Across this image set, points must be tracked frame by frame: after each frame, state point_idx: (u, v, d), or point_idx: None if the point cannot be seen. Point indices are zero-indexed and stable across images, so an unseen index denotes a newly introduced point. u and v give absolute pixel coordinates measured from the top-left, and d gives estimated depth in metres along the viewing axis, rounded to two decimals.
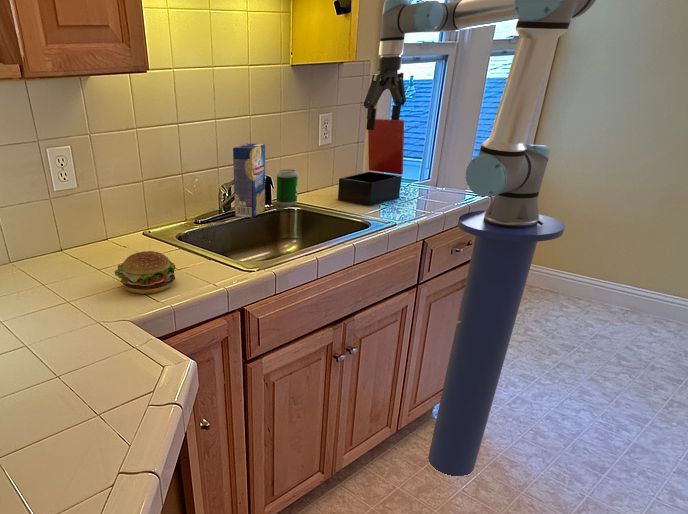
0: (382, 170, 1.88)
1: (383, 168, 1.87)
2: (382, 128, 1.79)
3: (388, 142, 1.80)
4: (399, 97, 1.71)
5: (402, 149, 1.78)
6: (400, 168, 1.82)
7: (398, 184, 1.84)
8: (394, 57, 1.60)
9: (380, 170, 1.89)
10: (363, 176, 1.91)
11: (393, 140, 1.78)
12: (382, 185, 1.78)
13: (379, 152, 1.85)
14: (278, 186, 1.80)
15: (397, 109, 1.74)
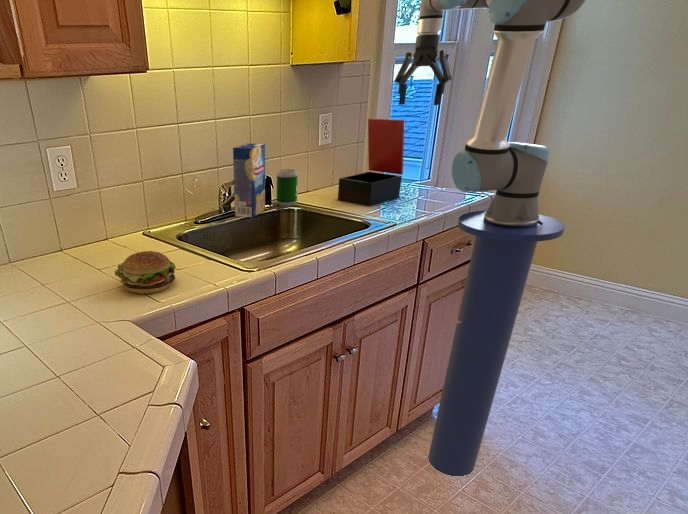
0: (382, 170, 1.88)
1: (383, 168, 1.87)
2: (382, 128, 1.79)
3: (388, 142, 1.80)
4: (437, 75, 1.70)
5: (402, 149, 1.78)
6: (400, 168, 1.82)
7: (398, 184, 1.84)
8: (418, 36, 1.69)
9: (380, 170, 1.89)
10: (363, 176, 1.91)
11: (393, 140, 1.78)
12: (382, 185, 1.78)
13: (379, 152, 1.85)
14: (278, 186, 1.80)
15: None
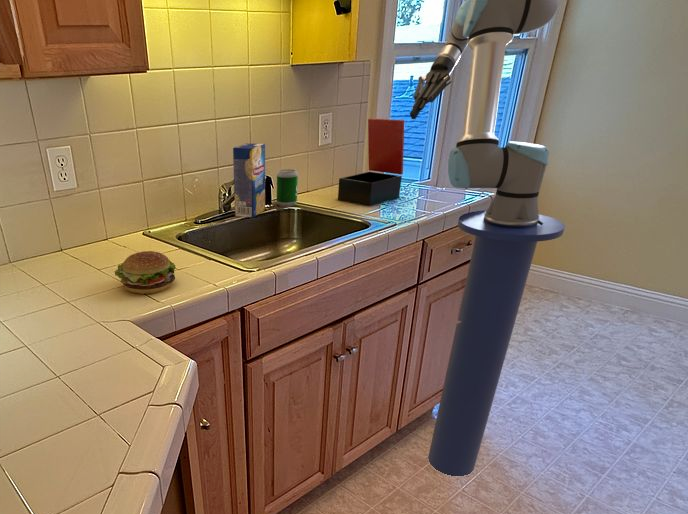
0: (382, 170, 1.88)
1: (383, 168, 1.87)
2: (382, 128, 1.79)
3: (388, 142, 1.80)
4: (427, 92, 1.84)
5: (402, 149, 1.78)
6: (400, 168, 1.82)
7: (398, 184, 1.84)
8: None
9: (380, 170, 1.89)
10: (363, 176, 1.91)
11: (393, 140, 1.78)
12: (382, 185, 1.78)
13: (379, 152, 1.85)
14: (278, 186, 1.80)
15: None
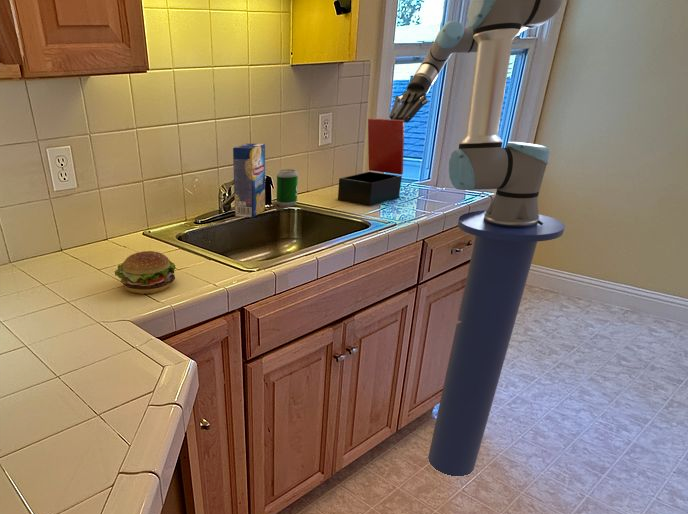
0: (382, 170, 1.88)
1: (383, 168, 1.87)
2: (382, 128, 1.79)
3: (388, 142, 1.80)
4: (403, 112, 1.80)
5: (402, 149, 1.78)
6: (400, 168, 1.82)
7: (398, 184, 1.84)
8: None
9: (380, 170, 1.89)
10: (363, 176, 1.91)
11: (393, 140, 1.78)
12: (382, 185, 1.78)
13: (379, 152, 1.85)
14: (278, 186, 1.80)
15: None
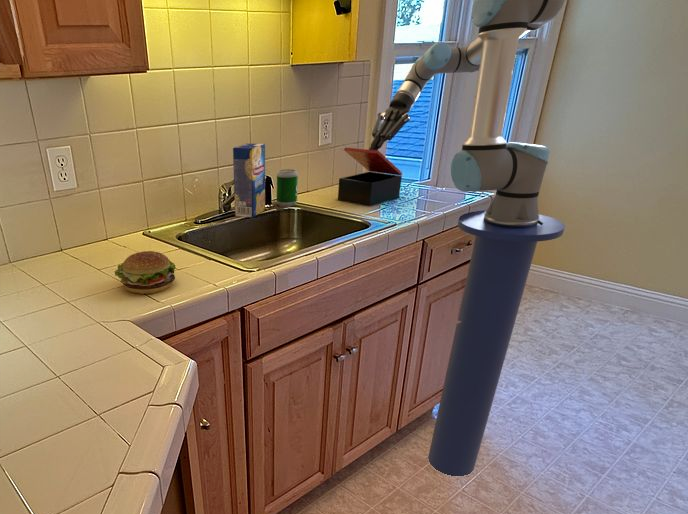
0: (381, 172, 1.88)
1: (381, 171, 1.87)
2: (361, 155, 1.78)
3: (374, 161, 1.79)
4: (385, 129, 1.78)
5: (390, 164, 1.77)
6: (397, 173, 1.82)
7: (398, 184, 1.84)
8: None
9: (380, 172, 1.89)
10: (363, 176, 1.91)
11: (378, 160, 1.77)
12: (382, 185, 1.78)
13: (370, 164, 1.85)
14: (278, 186, 1.80)
15: None
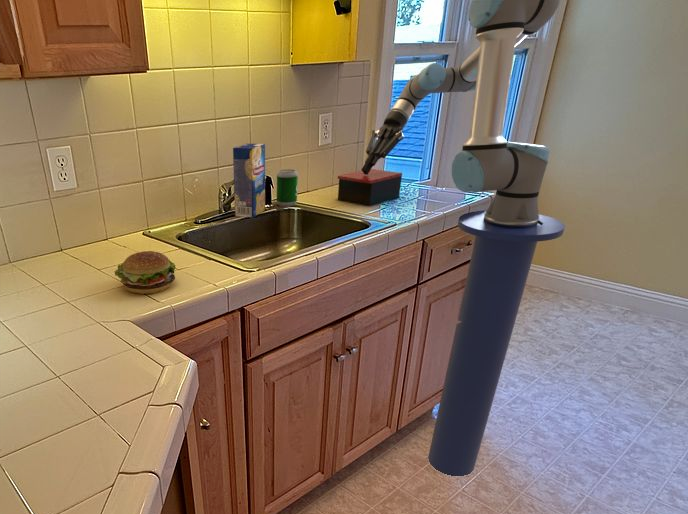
0: None
1: None
2: None
3: None
4: (379, 147, 1.79)
5: (387, 178, 1.79)
6: (397, 176, 1.82)
7: (398, 184, 1.84)
8: None
9: None
10: None
11: None
12: (382, 185, 1.78)
13: None
14: (278, 186, 1.80)
15: None
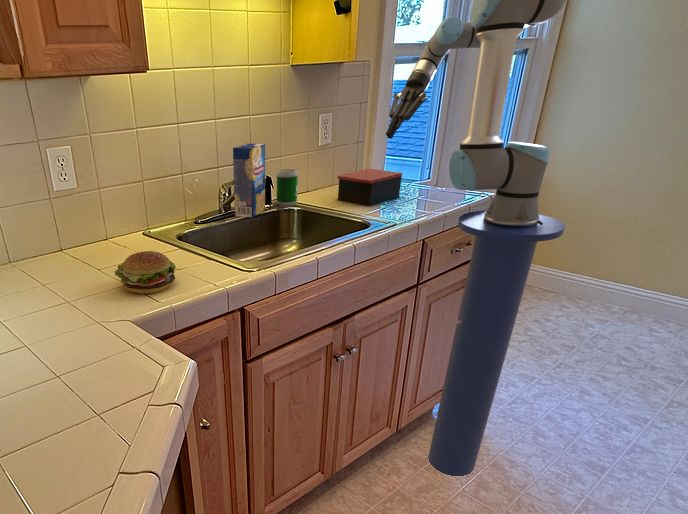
0: None
1: None
2: None
3: None
4: (403, 110, 1.78)
5: (387, 178, 1.79)
6: (397, 176, 1.82)
7: (398, 184, 1.84)
8: None
9: None
10: None
11: None
12: (382, 185, 1.78)
13: None
14: (278, 186, 1.80)
15: None
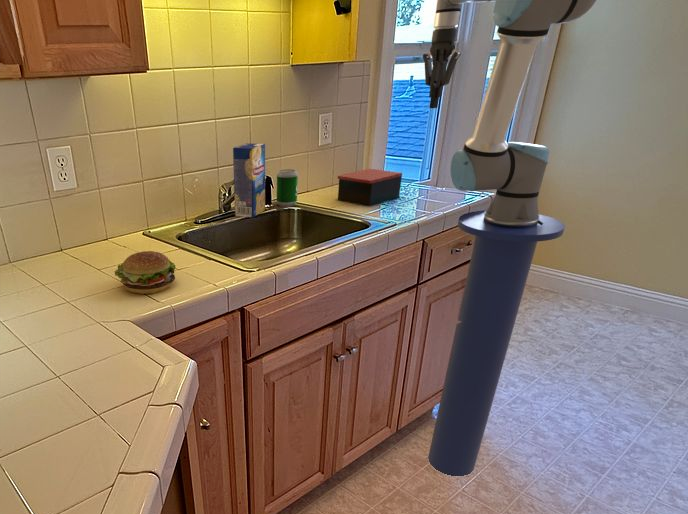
0: None
1: None
2: None
3: None
4: (439, 76, 1.71)
5: (387, 178, 1.79)
6: (397, 176, 1.82)
7: (398, 184, 1.84)
8: (435, 30, 1.65)
9: None
10: None
11: None
12: (382, 185, 1.78)
13: None
14: (278, 186, 1.80)
15: None
